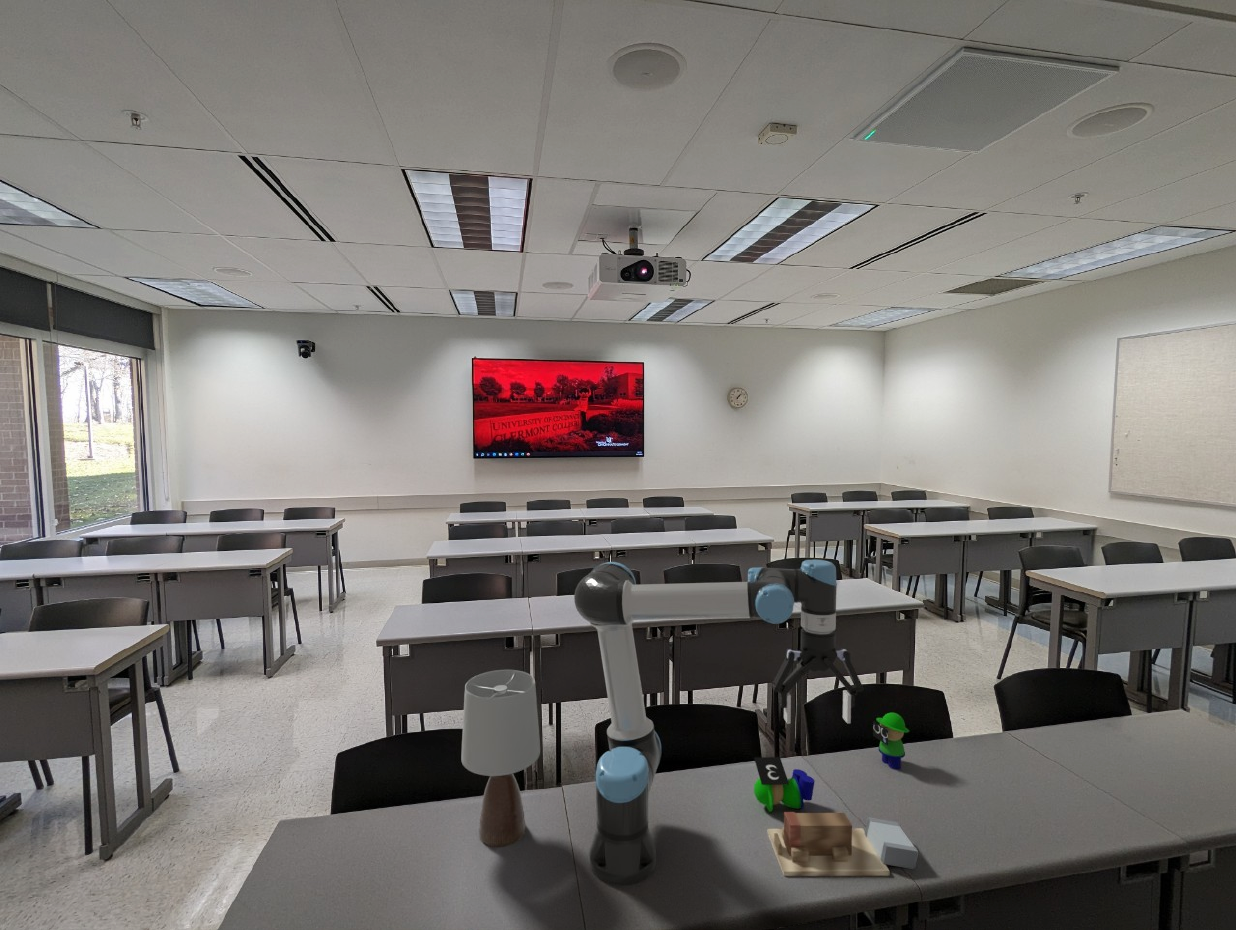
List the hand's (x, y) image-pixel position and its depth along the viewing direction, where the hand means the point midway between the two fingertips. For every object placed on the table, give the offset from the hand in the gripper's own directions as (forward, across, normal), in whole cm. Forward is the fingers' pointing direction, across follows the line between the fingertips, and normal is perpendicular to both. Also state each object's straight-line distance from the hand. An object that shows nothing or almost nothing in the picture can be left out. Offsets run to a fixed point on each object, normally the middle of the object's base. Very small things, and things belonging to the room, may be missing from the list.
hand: (816, 721), depth 136 cm
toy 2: (+31, +34, +36) cm, 59 cm away
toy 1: (+26, +5, +17) cm, 31 cm away
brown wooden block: (+29, 0, -1) cm, 30 cm away
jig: (+31, +2, -1) cm, 31 cm away
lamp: (+31, -74, +7) cm, 80 cm away
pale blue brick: (+27, +13, -1) cm, 31 cm away
